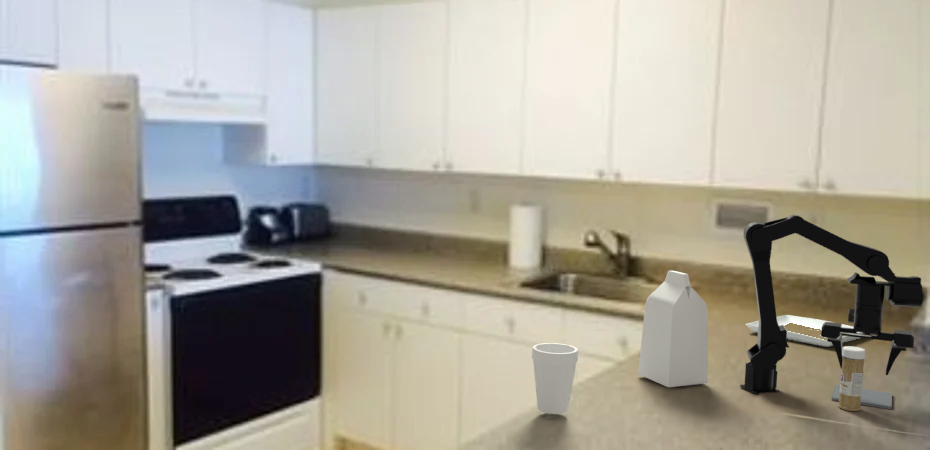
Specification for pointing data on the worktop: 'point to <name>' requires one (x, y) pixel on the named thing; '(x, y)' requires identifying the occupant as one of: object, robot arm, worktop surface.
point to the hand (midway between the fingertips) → (864, 371)
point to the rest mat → (869, 398)
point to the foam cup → (554, 375)
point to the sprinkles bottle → (851, 378)
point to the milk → (675, 334)
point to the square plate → (807, 323)
